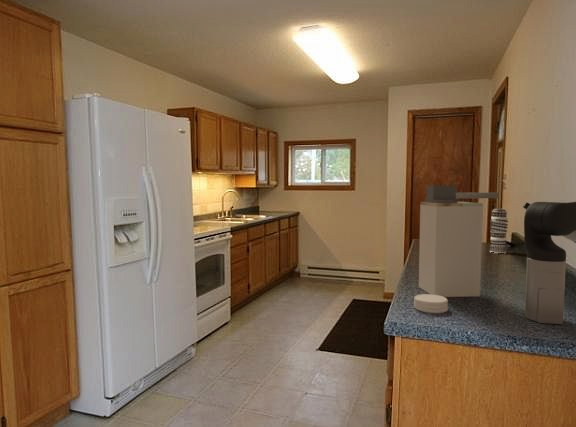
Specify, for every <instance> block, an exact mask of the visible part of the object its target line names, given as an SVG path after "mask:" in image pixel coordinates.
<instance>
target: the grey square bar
mask: <svg viewBox="0 0 576 427" xmlns="http://www.w3.org/2000/svg"><path fill="white" fill-rule="evenodd" d="M425 189H426V191H425V194H426V195H425V196H426V197H425V199H426V202H427V203H434V200H457V199H500V198H499V196H500V194H499V193H500V192H457V185H426V188H425Z"/></svg>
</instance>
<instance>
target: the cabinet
mask: <svg viewBox="0 0 576 427" xmlns="http://www.w3.org/2000/svg"><path fill="white" fill-rule="evenodd" d="M483 208H484V203H483V202H473V201H472V202H470V201H469V202H468V201H458V199H456V200H434V203H427V202H426V198H424V201H420V208H419V209H420V210H419V258H418V259H419V260H418V264H419V265H418V287H419V288H420V289H421V290H422V291H424V292H426V293H427V294H434V295H439V296H443V297H445V298H450V297H451V298H453V297H454V298H455V297H462V298H463V297H480V296H481V279H482V278H481V276H482V274H481V273H482V270H481V269H482V248H483V247H482V244H483V242H482V240H483V237H482V236H483V211H484V210H483Z"/></svg>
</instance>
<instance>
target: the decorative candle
mask: <svg viewBox="0 0 576 427" xmlns="http://www.w3.org/2000/svg"><path fill="white" fill-rule="evenodd" d="M507 212H508V211H507V210H506V209H505V208H493V210H491V219H490V221H489V222H490V224H489V225H490V227H489V231H490V240H489V241H490V242H489V252H490V253H491V252H494V253H493V254H498V253H504V254H507V245H508V244H507V242H508V241H507V233H508V230H507V229H508V227H507V226H508V225H509V224H508V223H509V220H508V217H507V215H508V214H507Z"/></svg>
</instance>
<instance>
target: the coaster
mask: <svg viewBox="0 0 576 427" xmlns="http://www.w3.org/2000/svg"><path fill="white" fill-rule="evenodd" d="M413 300H414V301H413V303H414V304H413V308H414V309H416V310H417V311H420V312H424V313H430V314H442V313H446V312H448V310H449V300H448V298H447V297H443V296H439V295H434V294H429V293H422V294H421V293H420V294H419V293H418V294H416V295H415V296H414V298H413Z"/></svg>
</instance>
